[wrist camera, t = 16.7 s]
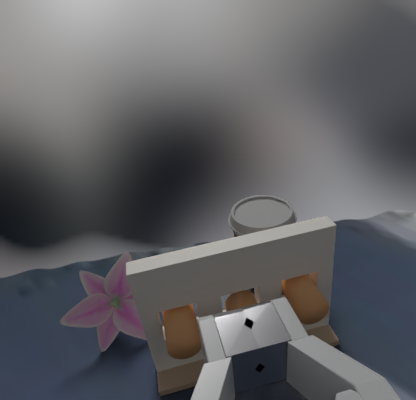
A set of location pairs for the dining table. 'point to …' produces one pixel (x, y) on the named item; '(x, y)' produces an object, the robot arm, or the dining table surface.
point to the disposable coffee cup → (260, 214)
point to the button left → (181, 332)
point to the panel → (228, 284)
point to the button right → (305, 299)
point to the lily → (107, 305)
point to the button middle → (240, 300)
